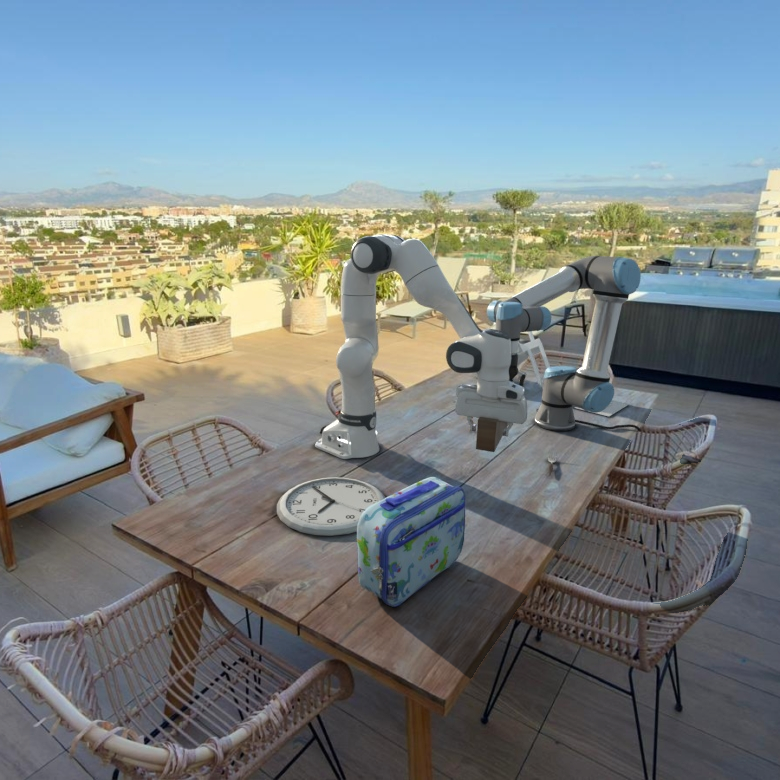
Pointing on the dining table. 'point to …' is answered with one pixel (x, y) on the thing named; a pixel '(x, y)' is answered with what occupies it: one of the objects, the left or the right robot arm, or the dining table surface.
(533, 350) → the white plastic object
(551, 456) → the fork
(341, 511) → the wall clock
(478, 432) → the bar
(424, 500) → the lunch box
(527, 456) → the dining table surface
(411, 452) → the dining table surface
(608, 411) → the invitation card
